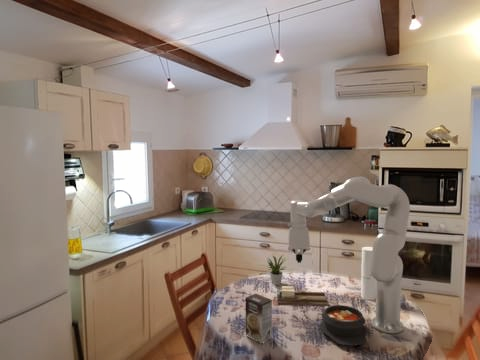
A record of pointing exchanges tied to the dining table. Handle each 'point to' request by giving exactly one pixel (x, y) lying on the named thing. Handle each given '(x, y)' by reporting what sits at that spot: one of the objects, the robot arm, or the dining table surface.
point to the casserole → (344, 325)
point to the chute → (303, 298)
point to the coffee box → (259, 317)
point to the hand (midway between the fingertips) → (299, 261)
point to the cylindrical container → (367, 276)
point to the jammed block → (288, 292)
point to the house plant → (276, 270)
